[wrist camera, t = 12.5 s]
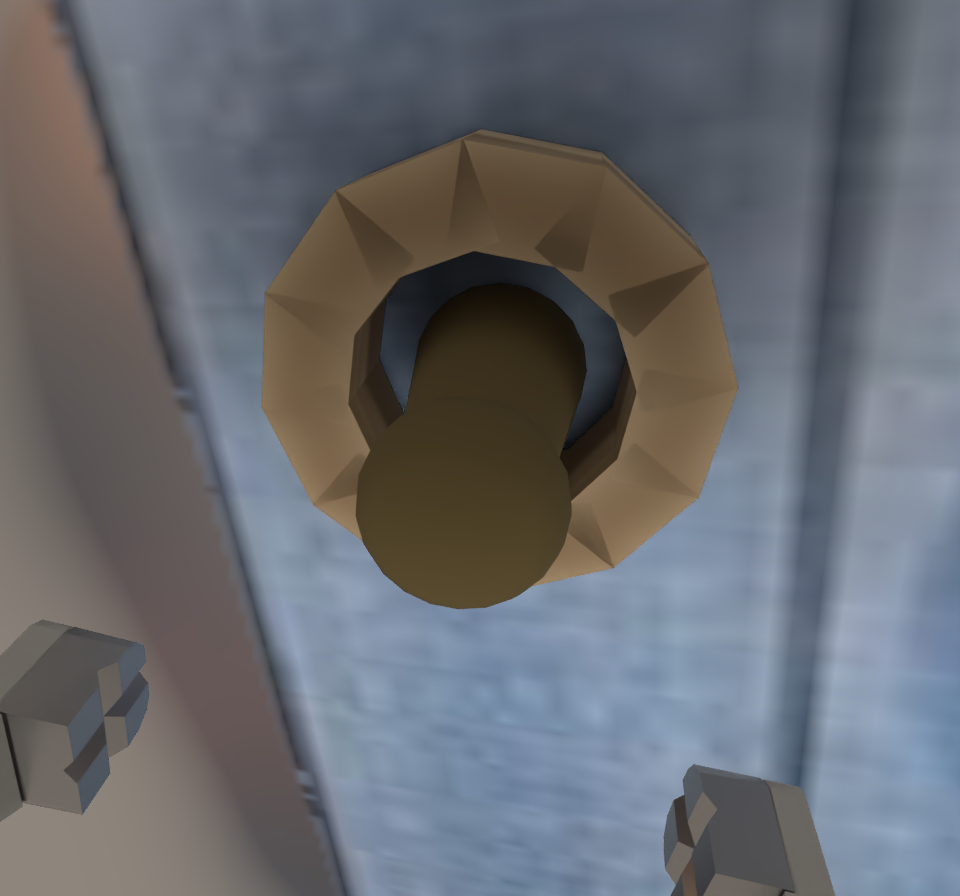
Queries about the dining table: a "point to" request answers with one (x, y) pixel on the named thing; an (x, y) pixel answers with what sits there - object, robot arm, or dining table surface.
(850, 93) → the dining table surface
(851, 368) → the dining table surface
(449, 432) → the dark brown rounded piece
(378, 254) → the tan faceted ring
